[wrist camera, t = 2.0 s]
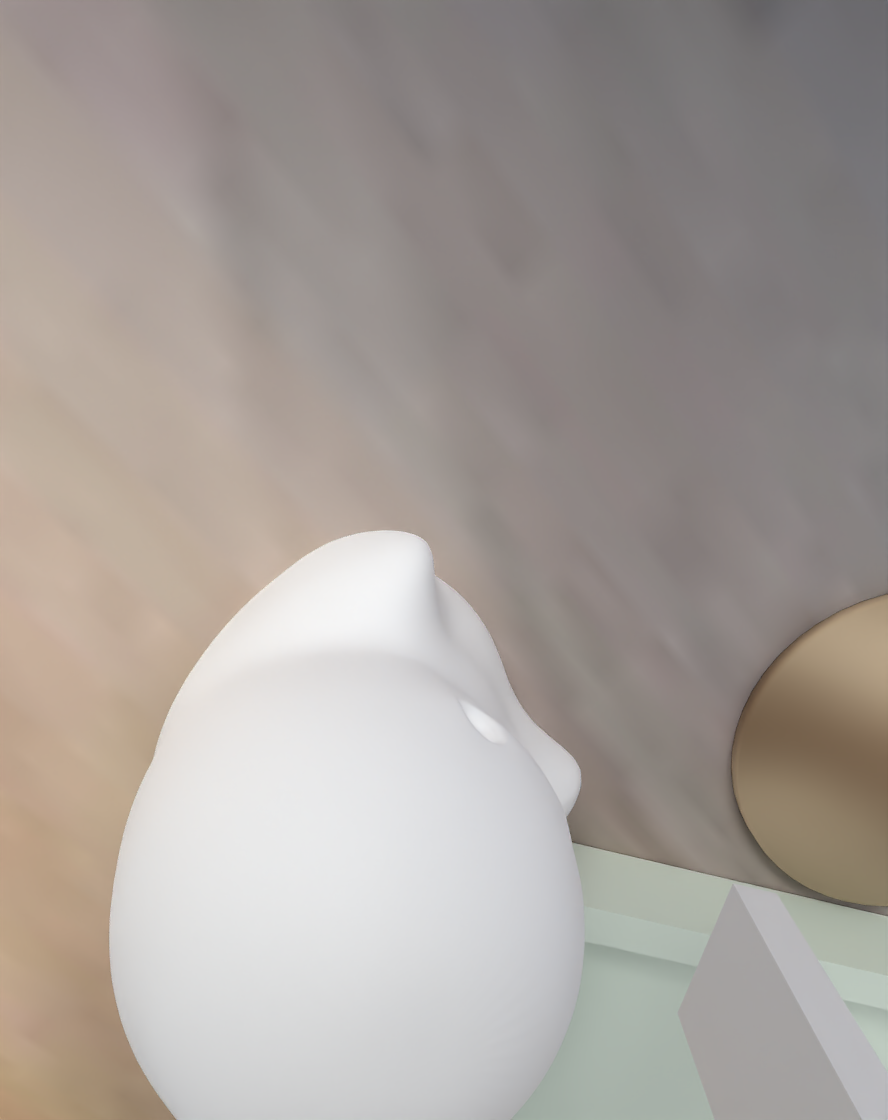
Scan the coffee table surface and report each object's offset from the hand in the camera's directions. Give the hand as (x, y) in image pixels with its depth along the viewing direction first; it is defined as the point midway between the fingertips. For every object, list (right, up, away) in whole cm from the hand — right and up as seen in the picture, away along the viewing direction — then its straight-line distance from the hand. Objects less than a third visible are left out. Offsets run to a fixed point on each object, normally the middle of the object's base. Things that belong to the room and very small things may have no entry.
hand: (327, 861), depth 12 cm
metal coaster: (+14, 0, +7) cm, 16 cm away
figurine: (0, +2, +7) cm, 7 cm away
